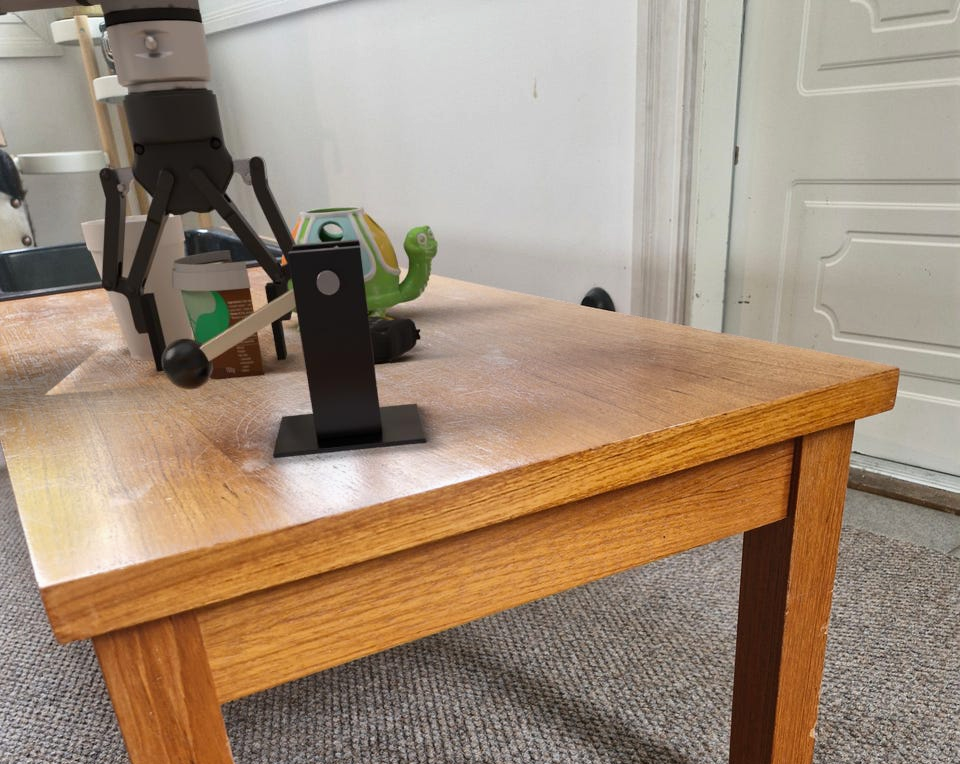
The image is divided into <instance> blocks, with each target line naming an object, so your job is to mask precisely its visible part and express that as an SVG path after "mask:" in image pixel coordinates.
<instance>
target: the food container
mask: <svg viewBox="0 0 960 764" xmlns="http://www.w3.org/2000/svg"><path fill="white" fill-rule="evenodd" d="M172 287H173V288H174V289H177V290H181V293H182V297H183V300H184V303H185V307H186V310H187V314H188V317H189V321H190V324H191V331H192V336H193V338H194V341H197V342H198V343H200V344H201V345H202V344H204V343H205V342H207V341H209V340H210V339H212V338H213V337H215V336H217V335H218V334H220V333H221V332H223V331H225V330H226V329H228V328H230V327H231V326H233V325H234V324H236V323H238V322H239V321H241V320H242V319H244V318H246V317H247V316H249V315H250V314H252V313H254V312H255V311H254V304H253V299H252V294H251V293H252V292H251V282H250V278H249V272H248V269H247V263H246V261H235V260H234V261H232V255H231V250H230V249H228V250H219V251H218V250H217V251H211V252H210V251H209V252H203V253H198V254H192V255H188V256H185V257H183V258H179V259H177V260H175V261H174V268H173V269H172ZM212 363H213V369H212V374H211V377H210V378H209V379H212V380H229V379H239V378H249V377H259V376H265V368H264V363H263V357H262V351H261V345H260V339H259V334H258V332H256V333H254V334H253V335H251V336H249V337H248V338H246V339H245V340H243V341H241V342H240V343H238V344H237V345H235V346H233V347H232V348H230V349H228V350H227V351H225V352H224V353H222V354H220V355H219V356H217V357H216V358H214V359H212Z"/></svg>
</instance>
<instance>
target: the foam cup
mask: <svg viewBox="0 0 960 764" xmlns="http://www.w3.org/2000/svg"><path fill="white" fill-rule="evenodd" d="M146 220H147V214H142V215H130V216H126V221H125V238H124V256H123V273H122V277H126V278H128V275H129V272H130V269H131V266H132V263H133V260H134V257H135V254H136V251H137V248H138V245H139V242H140V238H141V235H142V232H143V229H144V226H145V223H146ZM80 225H81V230H82V233H83V236H84V241H85V244H86V248H87V251H89V252H90V253H91V256H92V259H93V261H94V264H95V267H96V269H97V272H98V274H99V277H100V279H101V280H102V267H103V246H104V225H105V218H103V219H96V220H89V221H85V222H81V223H80ZM185 241H186V237H185V231H184V227H183V222H182V218H181V215H173V214H169V217H168V220H167V222H166V224H165V227H164V230H163V233H162V236H161V239H160V242H159V245H158V248H157V251H156V254H155V257H154V260H153V263H152V266H151V269H150V272H149V275H148V278H147V281H146V284H145V287H144V288H145V289H144V294H145V293H154V296H155V301H156V305H157V309H158V314H159V318H160V322H161V326H162V331H163V335H164V339H165V344H166V347H167V346H168V345H169V344H170V343H172V342H173V341H176V340H179V339H191V340H193V331H192V328H191V324H190V321H189V317H188V314H187V310H186V307H185V303H184V300H183V297H182V293H181V290H177V289H174V288H173V287H172V269H173V268H174V261H175V260H177V259H179V258H183V257H186V255H185V244H184V242H185ZM105 293H106V295H107V298H108V300H109V302H110V306H111V308H112V310H113V313H114V315H115V318H116V320H117V324H118V326H119V328H120V332H121V334H122V336H123V338H124V341H125V343H126V346H127V349H128V352H129V353H130V356H131V358H132V360H134V361H154V357H153V352H152V348H151V344H150V340H149V336H148V333H143V334H139V333H138V332H137V330H136V329H135V326H134V321H133V317H132V313H131V309H130V305H129V301H128V299H127V297H126V296H125V295H123V294H121V293H117V292H114V291H107V290H105Z"/></svg>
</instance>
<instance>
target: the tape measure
mask: <svg viewBox="0 0 960 764" xmlns="http://www.w3.org/2000/svg"><path fill="white" fill-rule="evenodd" d="M369 324H370V332H371V341H372V349H373V357H374V364H378V363H383V364H391V363H392V361H394V360H395V359H398V358H399V357H401V356H402V355H404V354H405V353H407V352H410V351H411V350H412V349H414V348H415V346H416V345H417V341H420V340H421V334H420V333H421V329H420V328H417V326H416V323H415V321H414V320H413V319H411V318H394V317H391V316H390V317H389V316H385V317H384V316H371V317H369Z"/></svg>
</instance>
